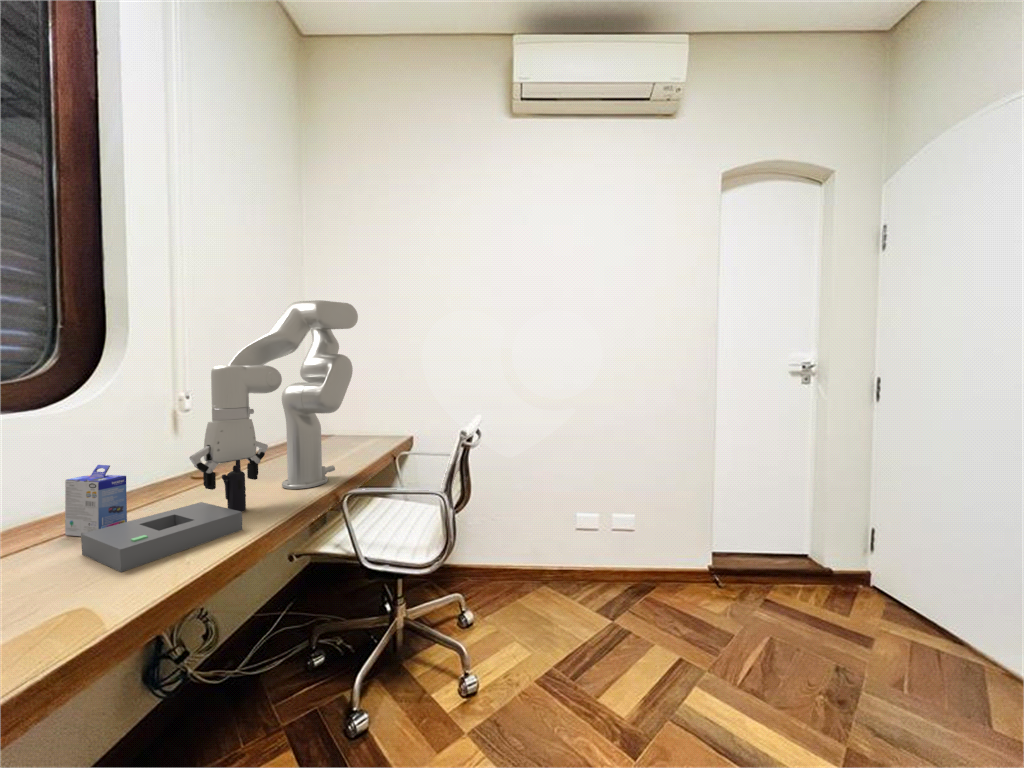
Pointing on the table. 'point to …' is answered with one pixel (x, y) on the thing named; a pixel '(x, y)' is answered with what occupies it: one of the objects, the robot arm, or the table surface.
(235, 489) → the two-way radio
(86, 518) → the ink cartridge box
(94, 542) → the charging cradle
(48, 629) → the table surface
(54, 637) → the table surface
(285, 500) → the table surface
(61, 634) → the table surface
